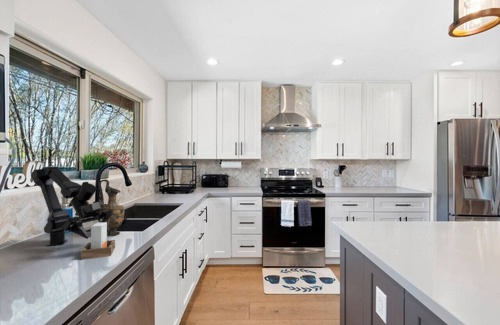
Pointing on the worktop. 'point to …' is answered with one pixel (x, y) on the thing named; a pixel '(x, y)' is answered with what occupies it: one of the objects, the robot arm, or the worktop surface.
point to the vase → (112, 208)
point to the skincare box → (99, 235)
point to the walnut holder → (98, 251)
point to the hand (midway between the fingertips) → (98, 234)
